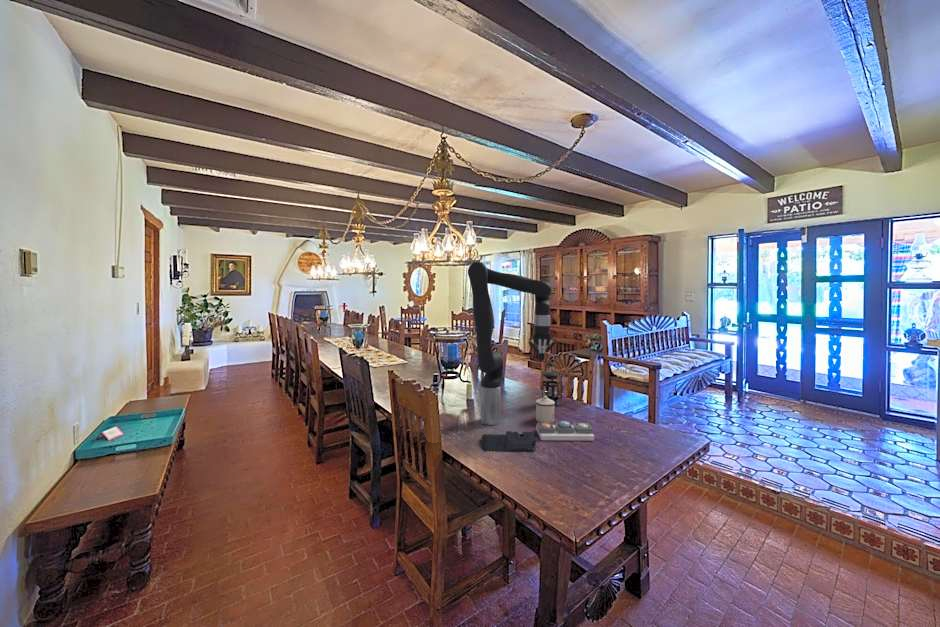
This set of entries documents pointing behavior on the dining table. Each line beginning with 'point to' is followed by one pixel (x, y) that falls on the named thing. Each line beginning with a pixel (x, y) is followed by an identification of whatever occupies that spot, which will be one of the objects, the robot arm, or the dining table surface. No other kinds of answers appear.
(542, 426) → the terracotta button
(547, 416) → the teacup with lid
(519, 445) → the dark slate chunk
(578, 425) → the sage button
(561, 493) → the dining table surface
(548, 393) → the french press
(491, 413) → the robot arm
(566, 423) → the slate button
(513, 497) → the dining table surface
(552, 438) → the button panel
